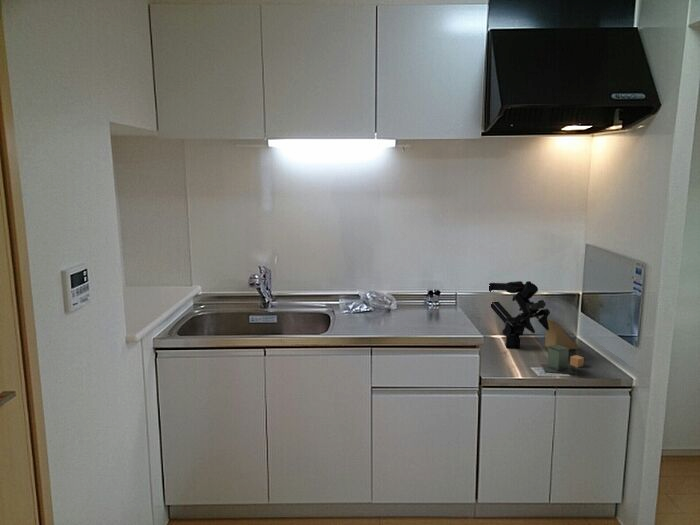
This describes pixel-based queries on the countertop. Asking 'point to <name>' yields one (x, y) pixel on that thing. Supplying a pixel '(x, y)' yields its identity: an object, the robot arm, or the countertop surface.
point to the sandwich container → (558, 336)
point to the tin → (557, 358)
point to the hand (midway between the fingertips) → (541, 331)
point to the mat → (548, 370)
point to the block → (576, 361)
